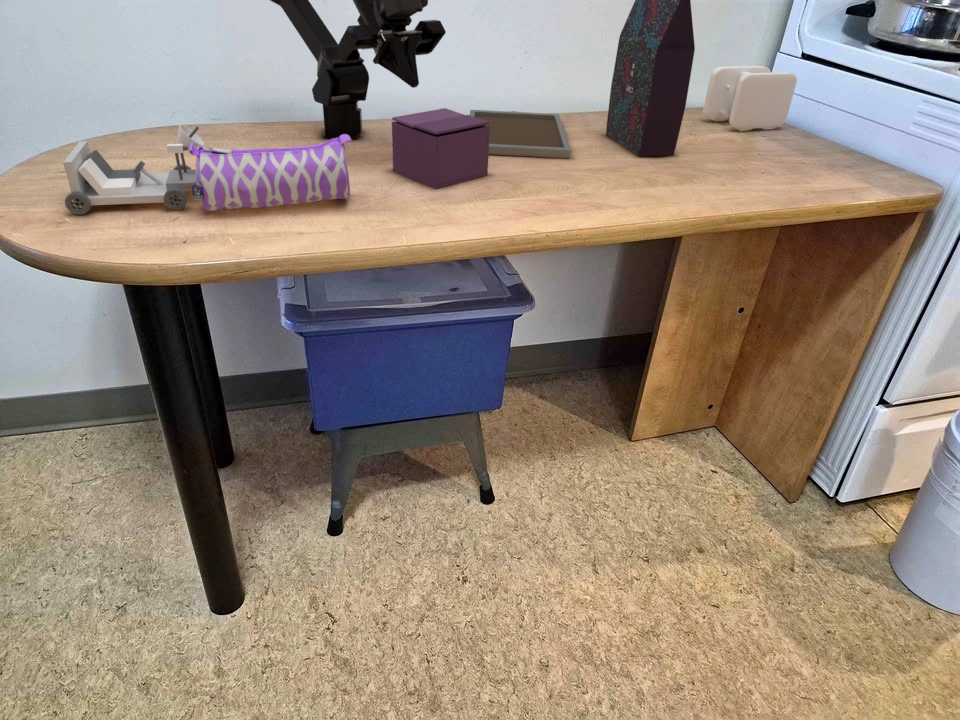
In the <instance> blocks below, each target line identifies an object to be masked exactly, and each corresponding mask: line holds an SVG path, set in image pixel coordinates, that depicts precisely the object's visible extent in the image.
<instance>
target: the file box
mask: <svg viewBox="0 0 960 720" xmlns="http://www.w3.org/2000/svg"><path fill="white" fill-rule="evenodd" d="M487 124H490V122H489V121H486V120H483V119H479V118H476V117H473V116H470V114H464V116H458V117H453V118H447V119H442V120H437V121H431V122H426V123H421V124H415V125H414V127H415V128H412V127H410V126H407V125H405V124H402V123H399V122H397V121H393V122H391V141H392V146H391V147H392V171H393V172H394V173H396V174H398V175H401V176H404V177H406V178H408V179H411V180H413V181H415V182H419V183H421V184H423V185H425V186H428V187H430V188H433V189H435V190H437V189H440V188H444V187H447V186H452V185H456V184H460V183H464V182H467V181H471V180H475V179H478V178H482V177H486V176H488V175H489V174H488V171H489V155H490V154H489V135H490V127H489V126H486V125H487Z"/></svg>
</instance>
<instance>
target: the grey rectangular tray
mask: <svg viewBox="0 0 960 720" xmlns="http://www.w3.org/2000/svg"><path fill="white" fill-rule="evenodd" d="M469 116H473V117H476V118H479V119H483V120H486V121H489V122H490V124H487V125H486V126H489V127H490V135H489V155H495V156H513V157H515V156H517V157H533V158H536V157H537V158H555V159H558V158H559V159H570V158H571V147H570V144H569V141H568V138H567V134H566V131H565V129H564V126H563V123H562V119H561V116H560V114H559V113H546V112H529V111H528V112H527V111H525V112H524V111H516V110H512V111H511V110H510V111H505V110H489V109H488V110H486V109H470V110H469Z"/></svg>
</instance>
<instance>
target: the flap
mask: <svg viewBox="0 0 960 720" xmlns="http://www.w3.org/2000/svg"><path fill="white" fill-rule="evenodd" d="M464 115H465V114H463V113H461V112H458V111H455V110H452V109H449V108H446V107H444V108H439V109H433V110H427V111H421V112H416V113H410V114H404V115H398V116H397V115H396V116H393V117H391V121H393V122H399V123H402V124H405V125H407V126H410V127H412V128H415V127H414V125H415V124H421V123H426V122H431V121H437V120H442V119H447V118H453V117H458V116H464Z"/></svg>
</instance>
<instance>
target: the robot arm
mask: <svg viewBox="0 0 960 720" xmlns="http://www.w3.org/2000/svg"><path fill="white" fill-rule="evenodd" d="M269 1H270V2H272V3H274V4H276V5H277V6H279V7H280V8H281V9H282V11H283V12H284V14H285V15H286V16H287V18H288V20H289V21H290V23H291V24H292V26H293V27H294V29H295V30H296V32H297V34H298V35H299V36H300V38H301V39H302V41H303V42H304V44H305V46H306V47H307V48H308V50H309V51H310V52H311V54H312V56H313V57H314V60H316V62H317V67H316V77H317V79H316V81H315V83H314V85H313V86H312V88H311V93H312V96H313V100H314V102H316V103H318V104H321V105H322V113H323V114H322V115H323V127H324V133H323V135H322V137H323V138H324V139H333V138H339V136H340V135H342V134H347V135H349V136H350V138H351V140H352V139H353V140H357V139H359V137H360V135H361V134H362V132H363V119H362V118H363V116H362V114H363V113H362V108H361V107H359V102H361V101H362V102H365V101H366V100H367V96H368V95H367V94H368V89H369V84H370V74H369V71H368V69H367V67H366V65H365V64H364V62H365V59H363V57H361V53H360V52H359V50H363V51H364V50H373V51H374V52H373V53H374V55H375V56H374V57H373V59H372V62H373V64H375V65H379V66H381V67H383V68H384V69H385V70H387V71H389V72H390V73H392V74H393V75H394V76H396V77H397V78H399V79H400V80H401V81H402V82H404V83H405V84H407V85H408V86H409V87H411V88H412V89H414V88H417V87H418V86H420V85H419V84H420V81H419V79H420V78H419V73H418V66H417V56H423V55H429V54H431V53H432V52H433V51H434V50H435V48H436V47H437V46H438V44H439V43H440V41H441V40H442V39H443V37H444V36H445V34H446V33H447V31H446V29H445V27H444V25H443V24H442V21H441V20H437V19H427V20H419V21H418V23H417V25H416V26H415V27H414V29H410V30H409V29H408V30H407V26H408V27H409V26H410V25H411V23H412V22H413V20H412V18H411V17H412V16H413V15H416V14H417V13H421V12H423V10H424V8H425V7H427V6H428V5H429V0H352V2H353V4H354V6H355V8H356V10H357V12H358V13H359V16H358V18H357V19H356V21H357V23H358V24H355V25H353V24H352V25H348V26H347V27H346V29H345V31H344V33H343V35H342V37H341V38H340V40H339V42H338V41H336V39H335V36H333V34H332V33H331V31H330V30H329V29H328V27H327V26H326V24H325V22H324V21H323V20H322V18H321V16H320V15H319V13H318V12H317V10H315V8H314V6H313V5H312V4H311V2H310V1H309V0H269Z"/></svg>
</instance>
